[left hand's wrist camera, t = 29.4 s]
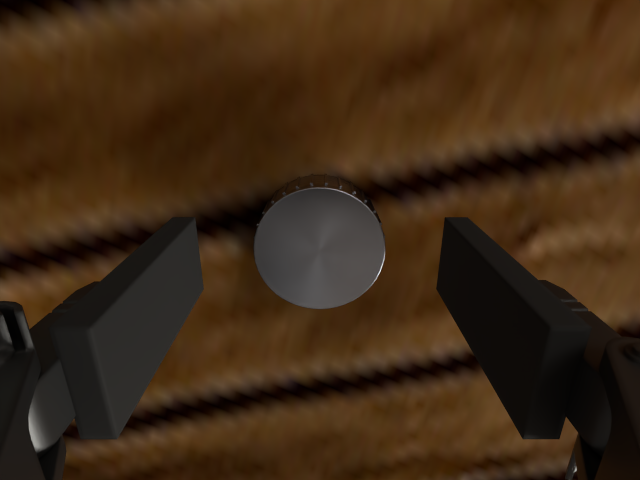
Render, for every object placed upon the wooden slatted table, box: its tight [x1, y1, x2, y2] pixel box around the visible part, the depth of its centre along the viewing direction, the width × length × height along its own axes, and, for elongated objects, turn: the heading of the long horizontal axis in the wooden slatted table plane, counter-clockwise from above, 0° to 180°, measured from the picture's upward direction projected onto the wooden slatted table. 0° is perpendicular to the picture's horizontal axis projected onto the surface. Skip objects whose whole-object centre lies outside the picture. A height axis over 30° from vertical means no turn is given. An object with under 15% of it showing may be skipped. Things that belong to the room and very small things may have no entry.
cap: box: [254, 174, 385, 309], centre depth 15 cm, size 5×5×2 cm
